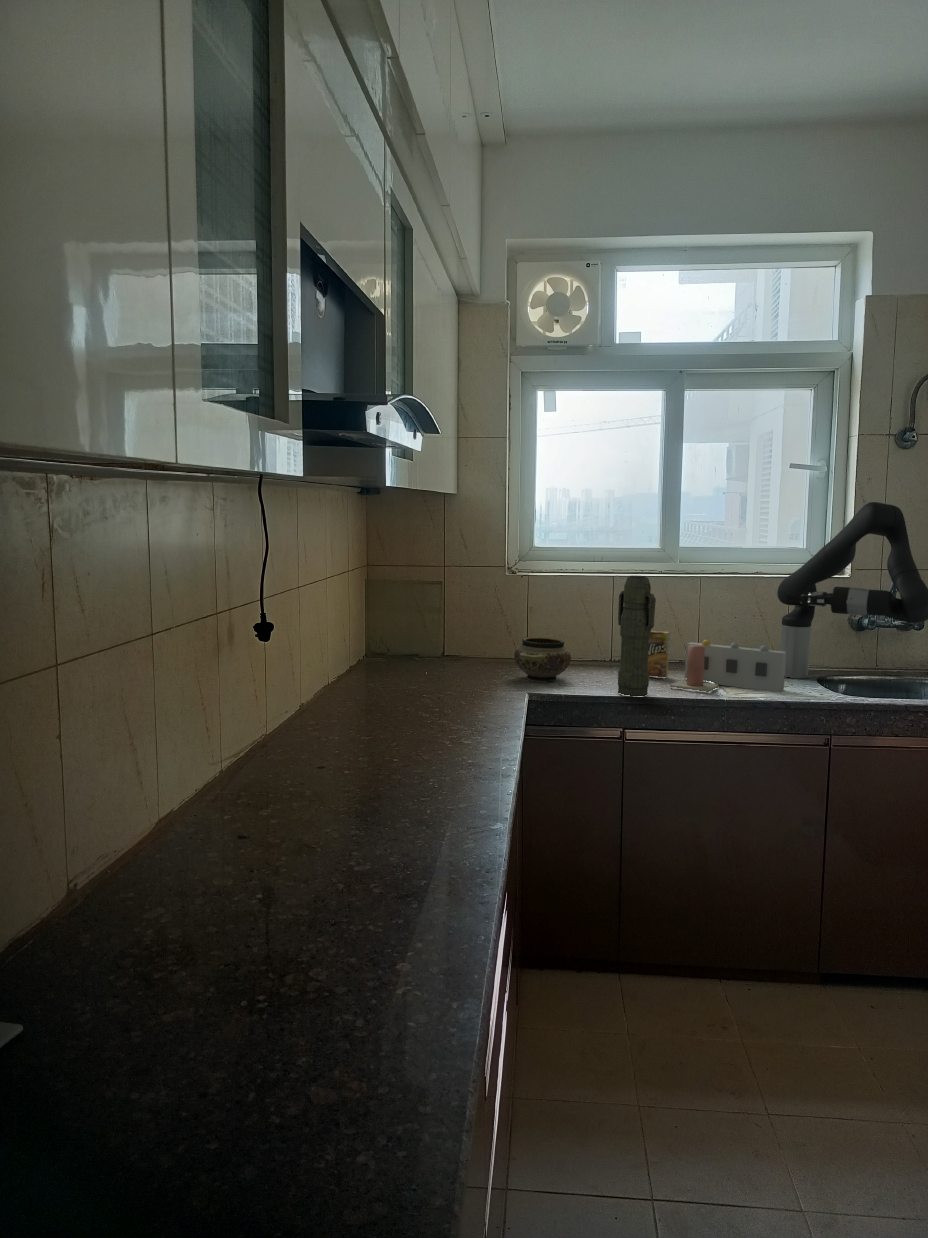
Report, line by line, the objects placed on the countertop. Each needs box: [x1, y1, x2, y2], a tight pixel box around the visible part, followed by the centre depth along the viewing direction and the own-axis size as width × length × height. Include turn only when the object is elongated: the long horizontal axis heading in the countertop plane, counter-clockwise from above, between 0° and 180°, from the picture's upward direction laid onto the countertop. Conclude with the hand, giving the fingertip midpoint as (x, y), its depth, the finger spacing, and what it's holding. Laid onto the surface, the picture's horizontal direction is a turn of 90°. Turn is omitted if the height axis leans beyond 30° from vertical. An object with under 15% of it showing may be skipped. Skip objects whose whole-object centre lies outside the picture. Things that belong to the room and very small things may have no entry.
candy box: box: [648, 630, 671, 678], centre depth 283 cm, size 9×4×15 cm, turn 70°
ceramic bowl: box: [513, 636, 572, 683], centre depth 275 cm, size 24×18×15 cm
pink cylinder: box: [687, 645, 705, 686], centre depth 265 cm, size 5×5×12 cm
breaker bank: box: [684, 639, 786, 693], centre depth 272 cm, size 6×30×14 cm, turn 57°
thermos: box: [617, 575, 657, 697], centre depth 254 cm, size 9×12×35 cm
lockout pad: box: [669, 679, 720, 692], centre depth 266 cm, size 10×12×1 cm
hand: (790, 597), depth 250 cm, fingers open, 8 cm apart
